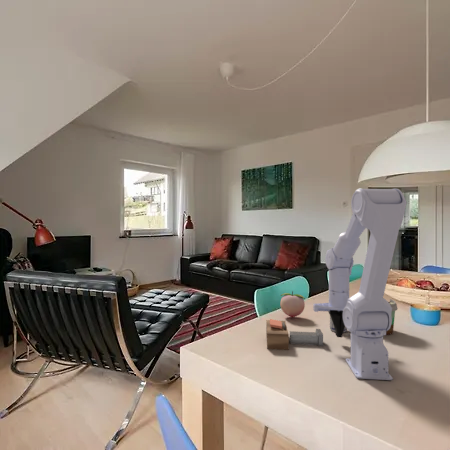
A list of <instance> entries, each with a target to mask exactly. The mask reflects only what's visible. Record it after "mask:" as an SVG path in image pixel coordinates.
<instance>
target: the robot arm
mask: <svg viewBox="0 0 450 450" xmlns="http://www.w3.org/2000/svg"><path fill="white" fill-rule="evenodd" d="M350 200H351V204H350V205H351V211H352V215H351V217H350V220H349V222H348V225H347V228H346V230H345V231H342V232H341V233H340V234H339V235H338V238H337V240H336V242H335V243H334V246H333V247H331V248H330V249H327V250H326V252H325V259H324V260H325V266H326V267H327V269H328V302H323V303H321V302H320V303H313V304H312V305H313V306H312V310H313V312H317V313H318V312H328V314H329V317H330V316H331V319H332V321H333V324H334V328H335V332H334V333H335V336H336V338H343V334H344V333H343V331H344V328H345V327H346V328H347V331H349V332H350V358H348V357H346V358H345V362H346V364H347V365H348V367H349V369H351V371H352V373H353V374H354V376H355V378H356V379H362V380H363V379H364V380H365V379H366V380H381V381H393V379H394V378H393V376H391V374H390V373H389V351H388V348H387V346H385V343H384V336H387V335H386V331H388V330H389V329H390V327H391V324H392V317H391V312H392V307H391V305H390V304H389V302H390V301H388V300H387V299H386V298H385V297H384V295H385V291H386V286H387V283H388V278H389V274H390V269H391V266H392V261H393V256H394V252H395V248H396V244H397V240H398V237H399V231H400V227H402V225H403V220H404V216H405V212H406V208H407V200H406V198H405V196H404V193H403V192H402V190H401V189H399V188H361V187H359V188H357V189H355V191H354V192H353V193H352V196H351V199H350ZM365 229H367V230H369V232H370V233H369V234H370V235H369V240H368V245H367V249H366V255H365V260H364V264H363V269H362V274H361V278H360V285H359V289H358V291H357V293H355V294H353V295H352V296H350V276H351V275H352V269H353V266H354V258H353V257H354V255H356V252H357V250H358V248H359V247H360V246H361V242H362V241H361V238H360V237H361V235H362V234H363V232H364V231H365Z"/></svg>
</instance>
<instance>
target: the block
mask: <svg viewBox="0 0 450 450" xmlns="http://www.w3.org/2000/svg"><path fill="white" fill-rule="evenodd" d="M280 321H281V323H282V329H280V328H275V327H270V319H266V323H265V325H266V330H265V331H266V333H265V334H266V349H268V350H279V351H280V350H282V351H283V350H284V351H289V349H290V348H289V345H290V333H289V330H288V327H287V323H286V320H280Z"/></svg>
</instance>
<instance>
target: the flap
mask: <svg viewBox="0 0 450 450" xmlns="http://www.w3.org/2000/svg"><path fill="white" fill-rule="evenodd" d="M269 320H270V327H275V328H280V329H282V323H281V321H282V320H278V319H277V320H276V319H273V318H272V319H271V318H269Z"/></svg>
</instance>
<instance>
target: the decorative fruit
mask: <svg viewBox="0 0 450 450" xmlns="http://www.w3.org/2000/svg"><path fill="white" fill-rule="evenodd" d="M280 297H281V299H280V308H281V310H282V312H283V314H285V315H287V316H288V317H291V318H296V317H298V316H300V315H301V314H302V313H303V312H304V310H305V307H306V305H305V299H306V298H305V297H304V296H303V295H301V294H299V293H295V294H294V291H293V290H292V291H291V293H289V292H285V293H282V294H280Z"/></svg>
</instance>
